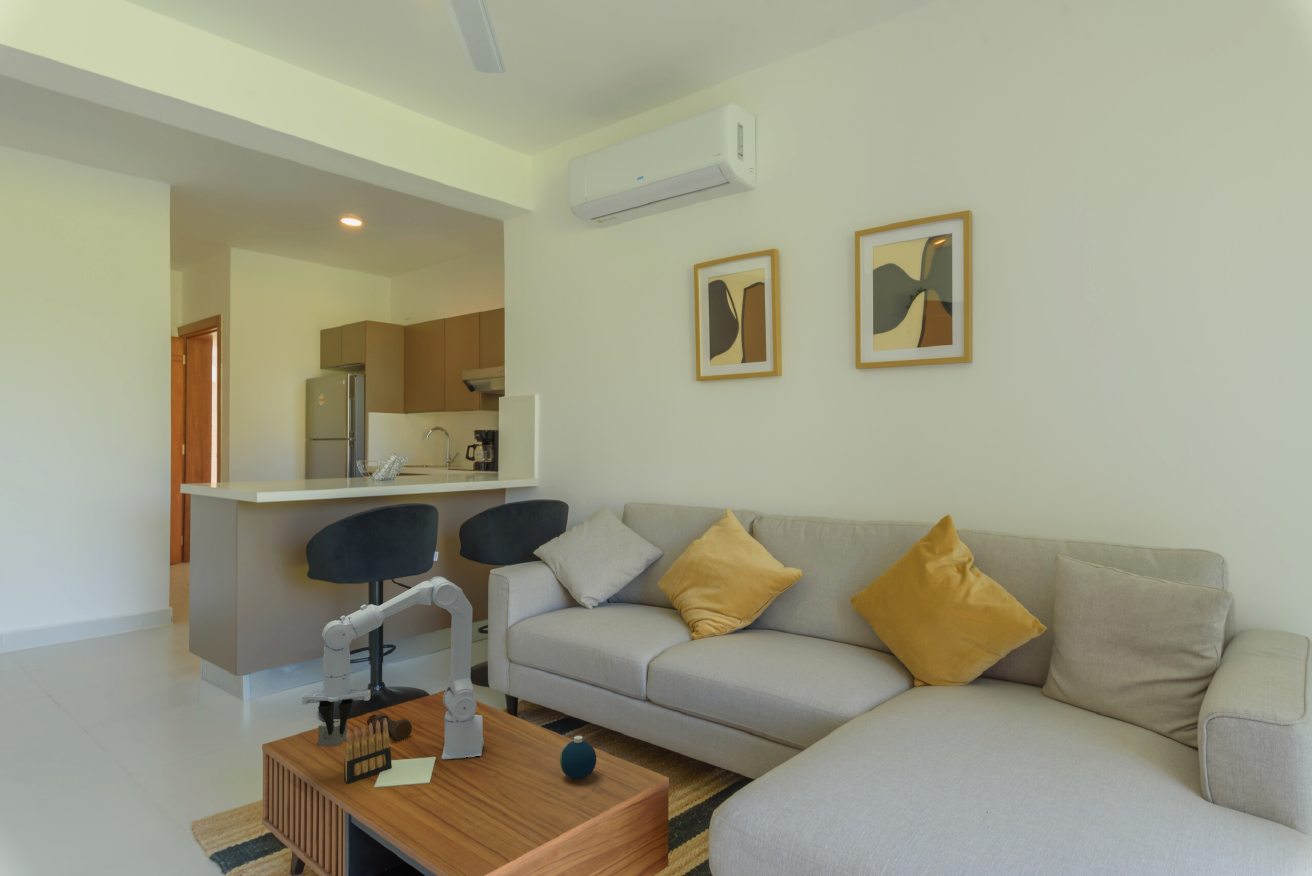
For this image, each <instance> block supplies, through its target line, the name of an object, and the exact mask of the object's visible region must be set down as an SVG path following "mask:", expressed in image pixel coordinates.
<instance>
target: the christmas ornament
mask: <svg viewBox="0 0 1312 876" xmlns="http://www.w3.org/2000/svg"><path fill="white" fill-rule="evenodd" d="M559 764H560V768H561V770H562V773H563V774H564V775H566V776H567V777H568V778H569V779H572V780H578V781H580V780H583V779H585V778H587V777H589V776H590V775H591V774H592V773H593V771H594V770H595V768H596V765H597V753H596V751H595V748H594V746H592V744H590V743H589V742H588V741H585V740H583V736H582V735H575V736H574V737H573V740H572V741H570V742H569V743H567V744H566V745H565V746H564V747H563V749H562V751H561V754H560V755H559Z"/></svg>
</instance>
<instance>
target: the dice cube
mask: <svg viewBox="0 0 1312 876" xmlns="http://www.w3.org/2000/svg"><path fill="white" fill-rule="evenodd" d="M333 721H334V731H333V733H332V734H331V735H328V730H327V726H326V723H325V721H324V722H322V723H321V724H319V725H318V727H317V731H318V736H317V738H318V740H317V741H318V746H319V747H320V746H322V747H323V746H327V747H337V746H339V745H340V744H341V743H343V742H344V741H346V733H347V730H348V725H347V724H348V723H347V721H348V720H347V721H346V726H345V731H344V733H343V734H340V718H335V719H334V718H333Z"/></svg>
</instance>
